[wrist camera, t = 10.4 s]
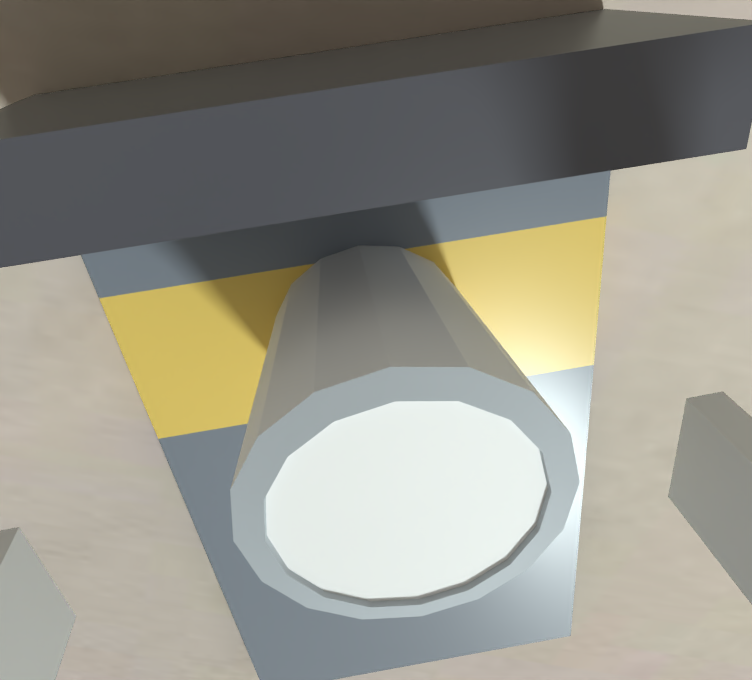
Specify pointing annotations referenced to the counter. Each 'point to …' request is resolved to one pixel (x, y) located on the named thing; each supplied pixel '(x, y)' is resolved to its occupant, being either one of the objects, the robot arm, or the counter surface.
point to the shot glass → (394, 446)
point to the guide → (364, 227)
